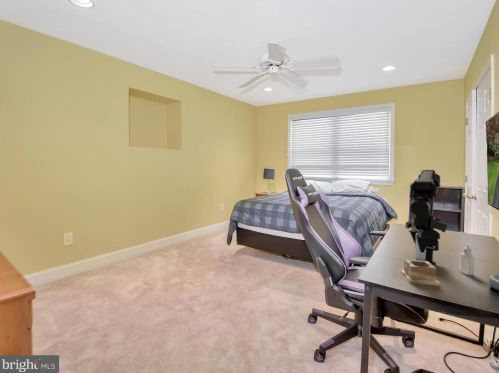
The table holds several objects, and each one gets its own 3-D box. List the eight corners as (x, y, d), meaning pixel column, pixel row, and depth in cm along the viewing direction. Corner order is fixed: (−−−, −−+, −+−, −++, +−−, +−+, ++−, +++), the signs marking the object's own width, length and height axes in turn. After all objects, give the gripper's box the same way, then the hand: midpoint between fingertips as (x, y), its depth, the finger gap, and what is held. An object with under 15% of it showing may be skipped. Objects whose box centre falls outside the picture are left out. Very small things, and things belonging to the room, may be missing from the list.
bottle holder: (400, 271, 117) (401, 257, 116) (427, 273, 114) (427, 259, 114) (410, 283, 105) (411, 268, 105) (440, 286, 103) (440, 270, 102)
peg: (413, 256, 111) (414, 232, 110) (423, 257, 110) (424, 232, 110) (416, 259, 108) (417, 234, 107) (426, 260, 107) (427, 235, 106)
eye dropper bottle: (460, 274, 113) (462, 246, 112) (458, 270, 118) (460, 242, 117) (474, 276, 111) (476, 247, 110) (471, 271, 116) (473, 244, 115)
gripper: (457, 217, 97) (455, 260, 98) (435, 208, 115) (433, 245, 116) (422, 216, 99) (420, 258, 100) (405, 208, 117) (404, 243, 119)
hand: (420, 250), depth 109 cm, fingers closed on peg, 3 cm apart
